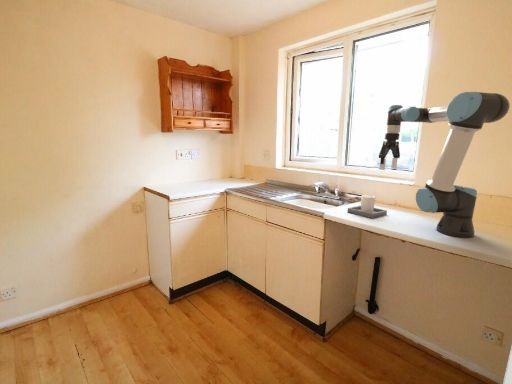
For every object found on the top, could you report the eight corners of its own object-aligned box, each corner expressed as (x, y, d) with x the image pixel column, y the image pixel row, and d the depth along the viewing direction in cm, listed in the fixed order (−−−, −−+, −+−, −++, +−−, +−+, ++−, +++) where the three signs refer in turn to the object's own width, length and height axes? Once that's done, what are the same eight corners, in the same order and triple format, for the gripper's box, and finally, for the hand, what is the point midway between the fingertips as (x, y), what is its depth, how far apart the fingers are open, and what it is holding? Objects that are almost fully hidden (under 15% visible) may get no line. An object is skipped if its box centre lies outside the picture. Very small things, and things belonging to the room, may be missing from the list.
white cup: (375, 214, 162) (377, 198, 160) (361, 213, 164) (362, 197, 162) (372, 211, 170) (374, 195, 168) (358, 210, 171) (360, 194, 169)
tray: (386, 214, 166) (387, 210, 165) (371, 218, 156) (372, 214, 156) (362, 208, 178) (362, 204, 178) (347, 212, 169) (347, 208, 168)
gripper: (396, 133, 172) (392, 167, 176) (374, 132, 157) (370, 169, 161) (409, 133, 166) (404, 168, 170) (387, 132, 151) (383, 170, 155)
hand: (388, 169), depth 166 cm, fingers open, 13 cm apart
